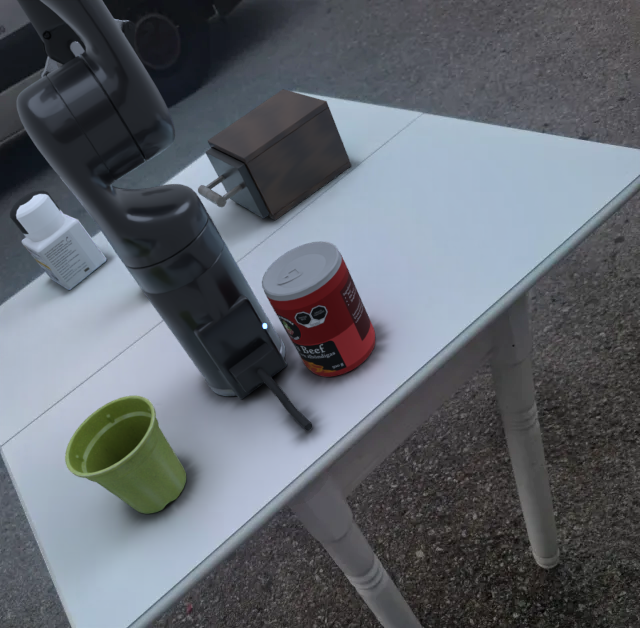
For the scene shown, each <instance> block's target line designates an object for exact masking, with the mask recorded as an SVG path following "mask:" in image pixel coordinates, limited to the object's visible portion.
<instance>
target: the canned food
mask: <svg viewBox="0 0 640 628" xmlns="http://www.w3.org/2000/svg"><path fill="white" fill-rule="evenodd" d="M352 277H353V276H352V275H351V272H350V270H349V268H348V266H347V264H346V262H345V260H344V257H343V255H342V253H341V251H340V250H339V248H338V247H337V245H335V244H334V243H332V242H330V241H322V240H321V241H311V242H308V243H304V244H301V245H299V246H297V247H294V248H292V249H290V250H288V251H287V252H284V254H281V256H279V257H278V258H276V260H274V261H273V262H272V263H271V265H269V267H268V268H267V269H266V271H265V272H264V274H263V276H262V279H261V288H262V289H263V292H264V295H265V296H266V298H267V300H268V302H269V304H270V306H271V308H272V309H273V311H274V312H275V314H276V316H277V318H278V319H279V322H280V323H281V325H282V327H283V328H284V331H285V332H286V334H287V336H288V338H289V339H290V341H291V343H292V345H293V346H294V348H295V350H296V351H297V354H298V355H299V357H300V358H301V361H302V363H303V364H304V366H305V367H306V368H307V369H308V371H310V372H311V373H313V374H314V375H317V376H320V377H324V378H325V377H326V378H328V377H329V378H330V377H337V376H341V375H344V374H346V373H348V372H351V371H353V370H354V369H356V368H358V367H360V366H361V365H362V364H363V363H364V362H365V361H366V360H367V359H368V358H369V357H370V356H371V354H372V353H373V350H374V349H375V345H376V332H375V328H374V325H373V324H372V321H371V319H370V317H369V314H368V312H367V309H366V308H365V305H364V302H363V300H362V298H361V296H360V294H359V291H358V289H357V287H356V284H355V281H354V279H353V278H352Z"/></svg>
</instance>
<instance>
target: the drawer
mask: <svg viewBox="0 0 640 628" xmlns="http://www.w3.org/2000/svg"><path fill="white" fill-rule="evenodd" d="M205 154H206V157H207V158H208V160H209V162H210V164H211V166H212V168H213V169H214V172H215V173H216V175H217V178H215V179H214V180H213V181H211V182H210V183H208V184H207V185H205V184H201V185H199V186H198V187H197V194H198V195H200V196H201V197H203V198H204V199H206V200H208V202H209V201H210V202H211V203H212V204H214V205H215V206H217V207H219V208H224V207H225V206H227V201H228V200H229V199H230V200H232V201H233V202H234V203H236V204H238V205H240V206H241V207H243V208H244V209H247V210H248V211H250V212H251V213H253V214H255V215H257V216H258V217H260V218H262V219H265V218H267V217H269V216H268V215H269V214H270V213H269V211H268V209H267V207H266V205H265V203H264V201H263V199H262V197H261V195H260V193H259V191H258V189H257V187H256V185H255V183H254V181H253V179H252V177H251V175H250V173H249V171H248V169H247V167H246V165H245V162H243V161H241V160H239V159H236V158H234V157H232V156H230V155H228V154H227V155H226V154H224V153H222V152H220V151H218V150H216V149H214V148H211V147H210V148H209V149H207V150H205ZM219 184H222V186H223V188H224V190H225V192H226V193H224V195H221V194H219V193H218V192H217V191H214V188H215V187H216V186H219ZM212 189H213V190H212Z"/></svg>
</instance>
